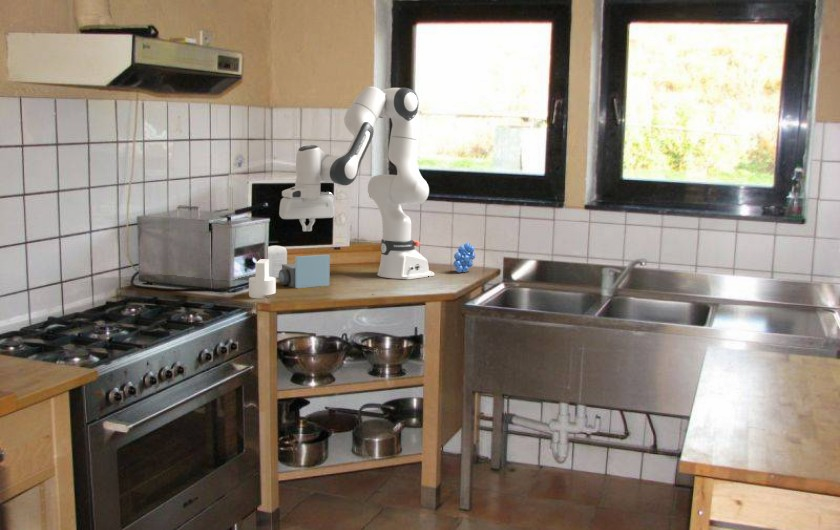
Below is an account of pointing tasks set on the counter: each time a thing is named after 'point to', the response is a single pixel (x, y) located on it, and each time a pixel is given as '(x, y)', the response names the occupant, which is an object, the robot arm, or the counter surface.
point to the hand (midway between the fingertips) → (307, 231)
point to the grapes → (464, 258)
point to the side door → (312, 271)
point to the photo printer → (276, 260)
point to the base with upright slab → (262, 281)
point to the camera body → (287, 275)
